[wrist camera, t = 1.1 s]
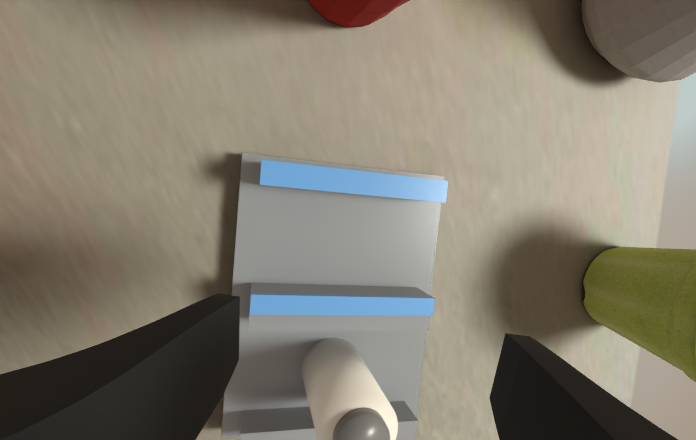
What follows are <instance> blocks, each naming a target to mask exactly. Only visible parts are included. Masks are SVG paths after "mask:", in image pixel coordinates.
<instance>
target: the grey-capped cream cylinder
mask: <svg viewBox="0 0 696 440" xmlns="http://www.w3.org/2000/svg"><path fill="white" fill-rule="evenodd" d="M301 373H302V378H303V382H304V387H305V391H306V395H307V399H308V403H309V407H310V411H311V415H312V419H313V423H314V427H315V431H316V436H317V440H396V437H397V432H398V421H397V416H396V414H395V411H394V409H393V408H392V406H391V404H390V403H389V401H388V400H387V398H386V396H385V395H384V393H383V392H382V390H381V388H380V387H379V385H378V383H377V382H376V380H375V379H374V377H373V375H372V374H371V372H370V370H369V369H368V367H367V366H366V364H365V362H364V361H363V359H362V358H361V356H360V354H359V353H358V351H357V349H356V348H355V347H354V346H353V345H352V344H351V343H350V342H348V341H346V340H344V339H341V338H328V339H325V340H322V341H320V342H318V343H316V344H315V345H314V346H313V347H312V348H311V349H310V350H309V351H308V352H307V354H306V355H305V357H304V359H303V363H302V368H301Z"/></svg>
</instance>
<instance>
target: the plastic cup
mask: <svg viewBox="0 0 696 440" xmlns="http://www.w3.org/2000/svg"><path fill="white" fill-rule="evenodd" d="M308 1H309V2H310V4H311V6H312V7H313V8H314V9H315V10H316V11H317V12H319V13H320V14H321V15H322V16H323V17H324V18H325V19H326V20H328V21H330V22H333V23H336V24H338V25H341V26H343V27H362V26H365V25H369V24H371V23H373V22H375V21H377V20H378V19H380V18H382V17H384V16H386V15H387V14H388V13H390V12H391V11H392V10H394V9H395V8H396V7H398V6H400V5H402V4H404V3H406V2H408V1H409V0H308Z"/></svg>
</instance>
